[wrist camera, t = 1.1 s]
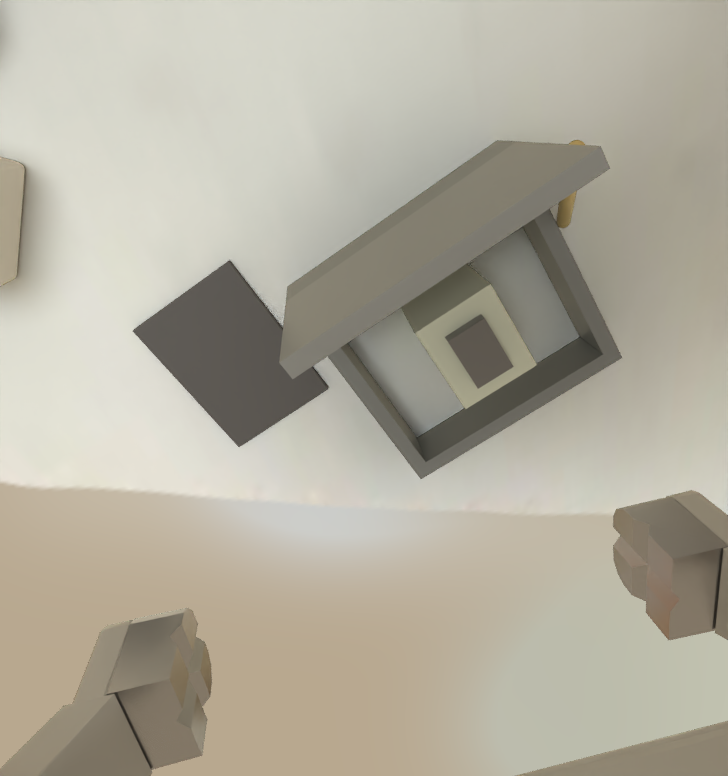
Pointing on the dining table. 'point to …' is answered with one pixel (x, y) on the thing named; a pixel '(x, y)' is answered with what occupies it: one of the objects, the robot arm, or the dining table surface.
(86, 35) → the dining table surface
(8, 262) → the medicine bottle
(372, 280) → the case
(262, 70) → the dining table surface
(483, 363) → the block
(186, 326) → the mat
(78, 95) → the dining table surface
